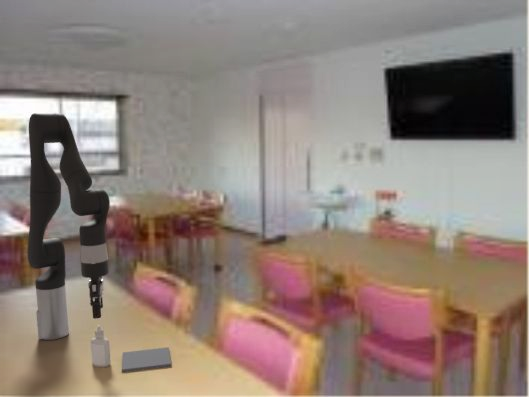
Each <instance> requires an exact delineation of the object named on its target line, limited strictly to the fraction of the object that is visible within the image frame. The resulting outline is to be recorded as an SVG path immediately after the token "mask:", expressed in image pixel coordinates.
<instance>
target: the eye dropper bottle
mask: <svg viewBox="0 0 529 397" xmlns="http://www.w3.org/2000/svg"><path fill="white" fill-rule="evenodd" d="M104 332H105V331H104V328H102V327H101V325H100V324H99V325H97V328H96V329H95V330H94V336H95V337H93V338H92V339H91V340H90V350H91V352H90V354H91V364H92V365H93V366H95V367H99V368H106V367H109V366H110V365H111V362H112V361H111V349H110V348H111V347H110V346H111V345H110V340H109V339H108V338H107V337H106V336H105V333H104Z"/></svg>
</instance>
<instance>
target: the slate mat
mask: <svg viewBox="0 0 529 397" xmlns="http://www.w3.org/2000/svg"><path fill="white" fill-rule="evenodd" d="M170 355H171V354H170V347H159V348H150V349H141V350H132V351H125V352H122V355H121V356H122V357H121V358H122V359H121V373H126V371H128V372H134V371H135V370H136V371H144V370H151V369H152V368H153V369H160V367H161V368H168V367H169V368H170V367H172V360H171V356H170ZM143 369H144V370H143Z"/></svg>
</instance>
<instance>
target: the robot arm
mask: <svg viewBox="0 0 529 397" xmlns="http://www.w3.org/2000/svg"><path fill="white" fill-rule="evenodd" d="M28 140H29V143H28V144H29V156H30V180H29V181H30V182H29V215H30V216H29V229H28V239H27V250H26V252H27V260H28V264H29V266H30V267H31V268H32V269H33V270H38V269H39V270H40V269H44V268H48V269H47V270H46V271H45V272H44V273H43V274H42V275H39V276H38V277H37V278H36V279H35V281H34V282H35V285H34V286H35V295H36V308H37V310H36V313H35V314H36V324H37V325H36V326H37V335H38V336H37V337H38V338H37V339H38V340H45V341H53V340H58V339H61V338H64V337H66V336H68V335H69V333H70V330H69V317H68V316H69V315H68V304H67V292H66V250H65V245H64V242H63V241H62V239H61V238H59V237H50V238H44V236H45V231H46V229H47V227H48V225H49V224H50V223H51V220H52V218H54V216H55V215H56V213H57V211H58V210H59V209H60V208H59V207H60V205H61V202H62V201H61V200H62V183H61V180H60V178H59V176H58V175H57V173H56V171H55V170H54V168H53V167H52V166H51V165H50V163H49V161H48V159H47V156H46V153H45V144H57V143H60V144H61V146H62V148H63V151H62V155H61V158H60V160H59V161H60V162H59V172H60V174H61V177H62V178H63V180H64V181H63V182H65V184H66V186H67V189H68V190H67V191H68V195H69V204H70V209H71V211H72V212H73V213H74V214H75V215H76V216H79V217H85V216H91V215H92V218H91V220H89V221H88V222H85V223H82V224H81V225H80V226H79V228H78V229H79V232H78V233H79V243H80V244H79V246H80V248H79V255H80V256H79V257H80V258H79V259H80V270H81V271H80V272H81V276H82V277H83V278H86V279H87V278H89V279H90V280H89V281H88V283H87V284H88V286H87V287H88V289H89V291H88V295H89V298H90V302H89V304H90V307H91V310H92V318H93V319H101V318H102V309H103V307H104V302H103V300H104V299H103V294H104V282H105V281H104V279H103V277H104V276H107V275H108V274H109V272H110V268H109V256H108V247H107V240H106V239H107V238H106V237H107V236H106V225H107V218H108V214H109V210H110V206H111V204H110V196H109V194H108V193H107V192H106V191H105V190H104V189H100V188H99V189H98V188H97V189H90V188H91V187H92V184H93V180H92V176H91V174H90V173H89V171H88V169H87V167H86V165H85V164H84V161H83V159H82V158H81V155H80V152H79V148H78V145H77V142H76V139H75V137H74V133H73V130H72V127H71V125H70V122H69V120H68V118H67V117H66V116H65V114H63V113H59V112H35V113H32V114H31V115H30V117H29V120H28Z"/></svg>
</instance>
